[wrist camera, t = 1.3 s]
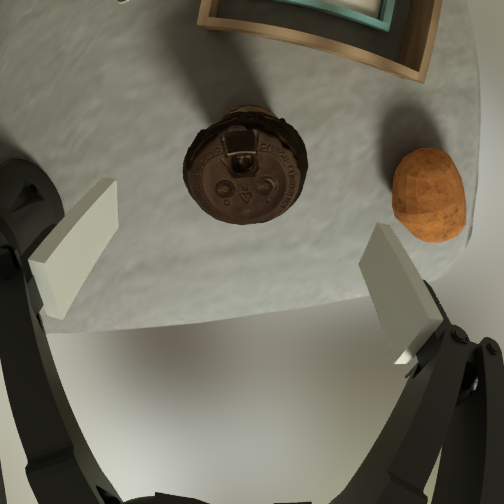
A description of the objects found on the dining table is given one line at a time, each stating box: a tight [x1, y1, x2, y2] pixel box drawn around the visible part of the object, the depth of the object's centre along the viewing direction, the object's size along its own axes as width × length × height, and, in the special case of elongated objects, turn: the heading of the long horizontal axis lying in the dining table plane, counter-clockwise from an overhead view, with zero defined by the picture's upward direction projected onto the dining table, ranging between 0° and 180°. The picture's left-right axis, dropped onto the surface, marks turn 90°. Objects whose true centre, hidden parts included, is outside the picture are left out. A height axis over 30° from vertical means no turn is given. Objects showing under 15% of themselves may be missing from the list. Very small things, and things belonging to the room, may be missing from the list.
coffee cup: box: [183, 105, 308, 225], centre depth 24 cm, size 9×8×13 cm
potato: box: [392, 147, 466, 242], centre depth 29 cm, size 9×11×8 cm
